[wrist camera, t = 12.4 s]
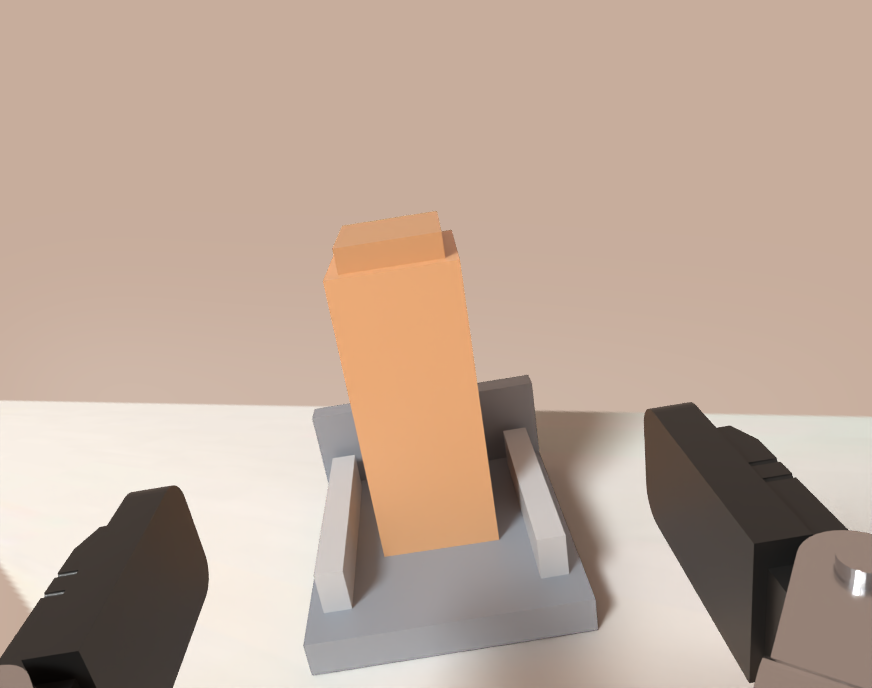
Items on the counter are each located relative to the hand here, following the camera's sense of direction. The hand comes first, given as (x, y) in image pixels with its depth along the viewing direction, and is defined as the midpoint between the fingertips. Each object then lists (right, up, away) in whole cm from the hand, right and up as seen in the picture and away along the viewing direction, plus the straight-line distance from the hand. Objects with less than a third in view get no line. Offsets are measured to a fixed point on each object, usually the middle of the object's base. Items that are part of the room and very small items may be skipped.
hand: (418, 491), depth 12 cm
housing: (+1, -5, +13) cm, 14 cm away
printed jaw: (0, -4, +13) cm, 14 cm away
